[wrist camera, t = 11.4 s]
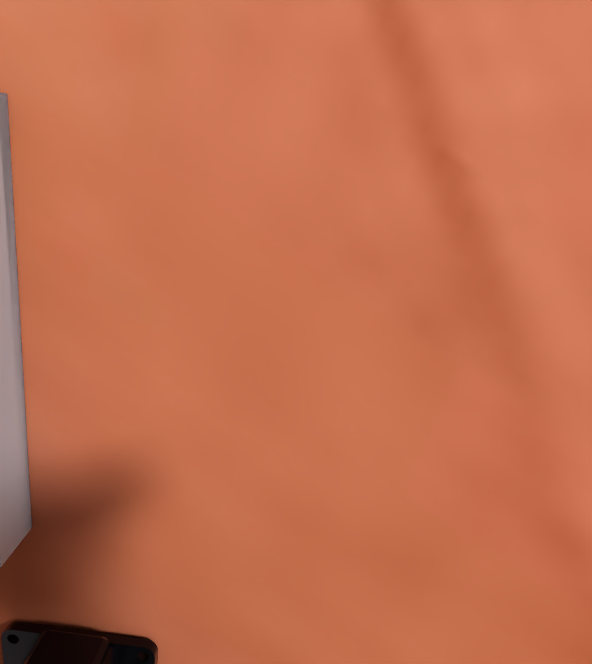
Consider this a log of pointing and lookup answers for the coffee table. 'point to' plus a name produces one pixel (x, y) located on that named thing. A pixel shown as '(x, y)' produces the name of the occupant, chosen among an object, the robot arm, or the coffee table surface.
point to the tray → (11, 369)
